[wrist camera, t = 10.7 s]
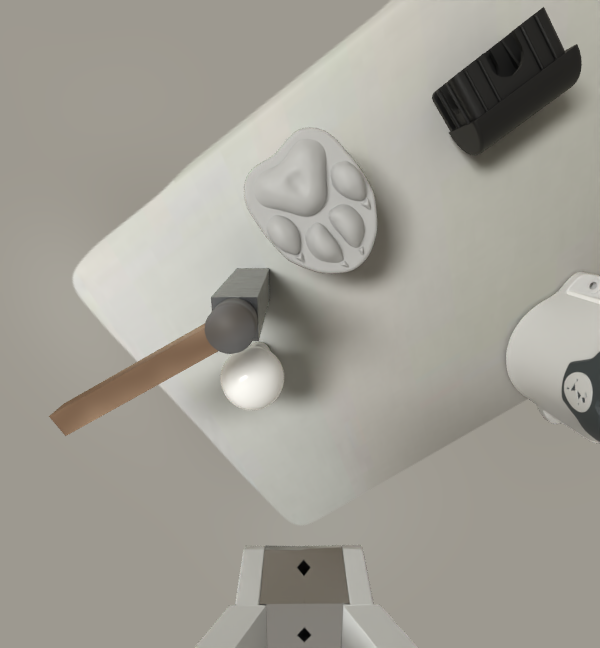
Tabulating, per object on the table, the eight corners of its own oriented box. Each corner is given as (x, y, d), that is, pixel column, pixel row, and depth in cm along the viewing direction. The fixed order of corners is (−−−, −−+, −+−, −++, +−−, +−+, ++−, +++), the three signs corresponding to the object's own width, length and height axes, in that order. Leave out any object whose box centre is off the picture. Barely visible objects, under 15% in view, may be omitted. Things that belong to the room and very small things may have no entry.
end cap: (460, 160, 42) (490, 152, 36) (425, 99, 41) (450, 79, 34) (547, 96, 41) (594, 76, 34) (513, 30, 39) (557, -4, 33)
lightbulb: (269, 315, 47) (261, 348, 36) (295, 360, 49) (295, 404, 38) (222, 340, 48) (201, 379, 37) (249, 383, 49) (237, 432, 39)
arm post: (269, 268, 45) (257, 297, 32) (269, 299, 46) (258, 340, 33) (236, 268, 45) (211, 297, 32) (238, 299, 46) (213, 340, 33)
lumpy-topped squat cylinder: (315, 125, 41) (319, 105, 33) (388, 226, 44) (410, 232, 36) (238, 192, 43) (224, 189, 35) (314, 285, 46) (318, 303, 38)
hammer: (266, 328, 32) (263, 339, 30) (86, 428, 34) (70, 445, 32) (242, 289, 31) (237, 297, 29) (59, 394, 33) (39, 410, 31)
